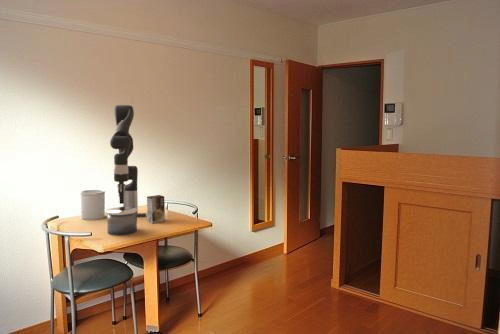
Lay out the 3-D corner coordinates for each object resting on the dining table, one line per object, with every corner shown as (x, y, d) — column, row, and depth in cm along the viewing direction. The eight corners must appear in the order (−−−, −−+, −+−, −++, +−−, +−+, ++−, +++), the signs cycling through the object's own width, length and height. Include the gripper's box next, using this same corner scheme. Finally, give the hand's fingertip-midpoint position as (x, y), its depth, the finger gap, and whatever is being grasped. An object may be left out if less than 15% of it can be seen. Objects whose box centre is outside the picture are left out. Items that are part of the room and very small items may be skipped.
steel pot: (108, 228, 228) (108, 209, 227) (146, 226, 234) (145, 208, 232) (106, 236, 213) (105, 216, 212) (146, 234, 218) (146, 214, 217)
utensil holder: (108, 218, 252) (107, 191, 250) (83, 221, 244) (82, 193, 242) (102, 213, 264) (101, 188, 262) (78, 216, 256) (78, 190, 254)
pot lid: (107, 209, 228) (107, 204, 228) (138, 208, 232) (138, 203, 232) (104, 215, 211) (104, 210, 211) (137, 214, 215) (137, 209, 215)
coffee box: (159, 219, 252) (159, 194, 250) (165, 221, 248) (164, 196, 246) (146, 221, 246) (146, 196, 244) (152, 223, 241) (152, 197, 239)
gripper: (114, 171, 221) (115, 201, 223) (113, 174, 208) (113, 206, 210) (128, 170, 223) (129, 200, 225) (127, 174, 210) (128, 205, 212)
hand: (121, 203), depth 217 cm, fingers closed
